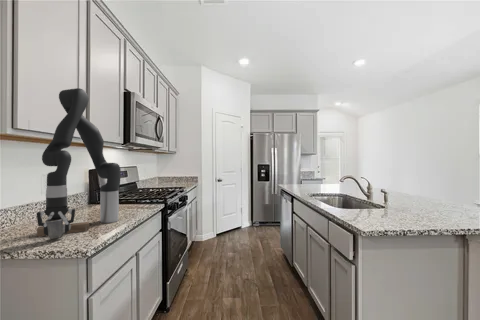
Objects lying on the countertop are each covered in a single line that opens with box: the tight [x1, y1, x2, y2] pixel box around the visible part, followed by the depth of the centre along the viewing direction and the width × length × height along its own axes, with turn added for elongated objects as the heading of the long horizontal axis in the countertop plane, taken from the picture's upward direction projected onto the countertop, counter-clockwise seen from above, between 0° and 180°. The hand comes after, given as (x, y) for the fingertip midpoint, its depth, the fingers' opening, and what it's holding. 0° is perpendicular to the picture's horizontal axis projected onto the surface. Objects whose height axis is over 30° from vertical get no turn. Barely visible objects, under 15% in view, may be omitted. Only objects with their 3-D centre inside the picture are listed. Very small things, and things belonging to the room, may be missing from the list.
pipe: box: [44, 218, 71, 240], centre depth 111 cm, size 6×13×8 cm, turn 3°
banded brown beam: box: [36, 221, 90, 238], centre depth 120 cm, size 4×20×4 cm, turn 121°
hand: (56, 233), depth 110 cm, fingers closed on pipe, 6 cm apart
